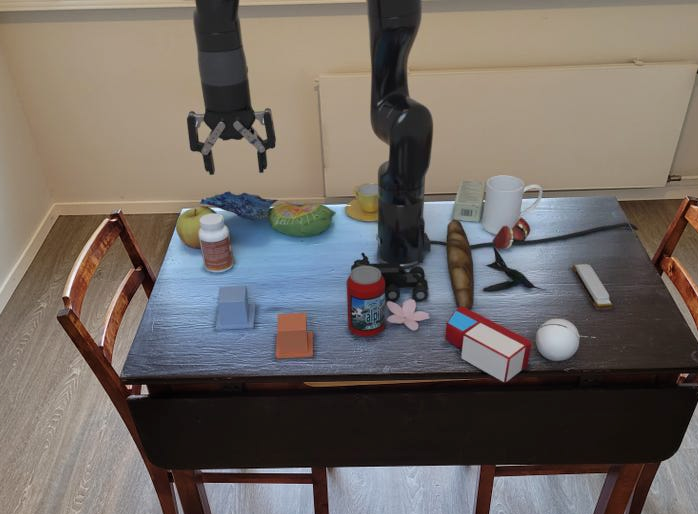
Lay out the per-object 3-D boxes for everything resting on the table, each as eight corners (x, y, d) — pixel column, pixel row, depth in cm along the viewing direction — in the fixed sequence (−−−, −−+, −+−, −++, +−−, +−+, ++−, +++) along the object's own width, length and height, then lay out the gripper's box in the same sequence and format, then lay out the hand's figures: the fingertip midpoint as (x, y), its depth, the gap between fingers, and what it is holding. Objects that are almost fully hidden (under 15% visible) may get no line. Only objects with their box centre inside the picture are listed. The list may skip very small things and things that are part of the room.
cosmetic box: (479, 222, 158) (485, 198, 167) (481, 204, 155) (487, 181, 164) (451, 219, 159) (458, 196, 168) (453, 201, 157) (460, 179, 166)
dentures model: (511, 243, 144) (537, 229, 148) (499, 227, 145) (524, 214, 148) (498, 257, 149) (524, 244, 153) (487, 242, 150) (512, 229, 153)
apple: (235, 233, 153) (222, 200, 148) (204, 257, 148) (190, 224, 143) (207, 228, 159) (193, 196, 154) (176, 251, 154) (161, 219, 149)
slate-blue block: (249, 307, 134) (246, 285, 131) (247, 322, 130) (244, 300, 127) (223, 308, 134) (219, 286, 130) (220, 324, 130) (217, 302, 127)
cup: (406, 208, 164) (407, 187, 160) (372, 227, 157) (372, 206, 154) (368, 193, 170) (368, 173, 167) (334, 211, 164) (333, 190, 160)
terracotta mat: (312, 334, 128) (312, 331, 127) (313, 357, 123) (312, 354, 122) (277, 336, 128) (276, 333, 127) (276, 358, 123) (275, 356, 122)
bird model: (531, 275, 146) (542, 301, 138) (475, 265, 144) (482, 291, 136) (541, 253, 143) (552, 279, 135) (483, 242, 141) (491, 268, 133)
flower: (438, 338, 129) (440, 332, 127) (385, 338, 126) (387, 332, 125) (426, 301, 135) (428, 295, 134) (376, 301, 133) (377, 295, 132)
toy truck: (461, 304, 125) (437, 320, 121) (532, 340, 116) (509, 358, 113) (459, 329, 128) (435, 345, 124) (528, 366, 120) (505, 384, 116)
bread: (441, 223, 158) (443, 203, 155) (463, 223, 158) (465, 203, 154) (452, 324, 129) (454, 302, 126) (479, 324, 129) (482, 302, 125)
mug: (485, 236, 153) (490, 192, 146) (479, 218, 159) (483, 175, 152) (540, 234, 153) (548, 190, 146) (532, 217, 159) (539, 173, 152)
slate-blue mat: (255, 306, 135) (255, 303, 135) (253, 328, 130) (253, 325, 129) (219, 308, 135) (219, 305, 134) (215, 330, 129) (215, 327, 129)
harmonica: (612, 310, 131) (614, 301, 130) (596, 310, 131) (598, 302, 130) (586, 268, 143) (588, 260, 141) (572, 269, 142) (573, 260, 141)
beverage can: (357, 344, 125) (355, 288, 118) (342, 323, 130) (340, 268, 122) (391, 334, 127) (391, 278, 120) (375, 314, 132) (375, 259, 124)
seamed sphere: (522, 343, 118) (533, 313, 122) (543, 372, 121) (553, 342, 125) (577, 333, 111) (587, 302, 115) (597, 364, 114) (606, 332, 118)
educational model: (323, 246, 151) (322, 223, 148) (254, 238, 155) (252, 215, 151) (340, 221, 161) (339, 199, 157) (275, 214, 164) (273, 192, 161)
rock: (262, 216, 146) (261, 225, 147) (283, 197, 162) (282, 205, 162) (196, 200, 147) (195, 209, 148) (222, 183, 162) (221, 191, 163)
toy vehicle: (351, 280, 141) (350, 242, 136) (425, 278, 141) (427, 240, 136) (352, 303, 135) (350, 265, 129) (429, 301, 135) (431, 262, 129)
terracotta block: (307, 334, 127) (306, 312, 124) (308, 352, 123) (306, 329, 120) (280, 336, 127) (277, 313, 123) (279, 353, 123) (277, 330, 120)
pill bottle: (239, 267, 146) (232, 220, 139) (212, 277, 143) (203, 229, 136) (226, 255, 150) (218, 208, 143) (199, 263, 147) (190, 216, 140)
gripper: (175, 85, 108) (193, 183, 118) (268, 82, 108) (277, 179, 118) (182, 70, 113) (198, 164, 124) (270, 66, 114) (279, 161, 124)
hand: (237, 172), depth 121 cm, fingers open, 8 cm apart
